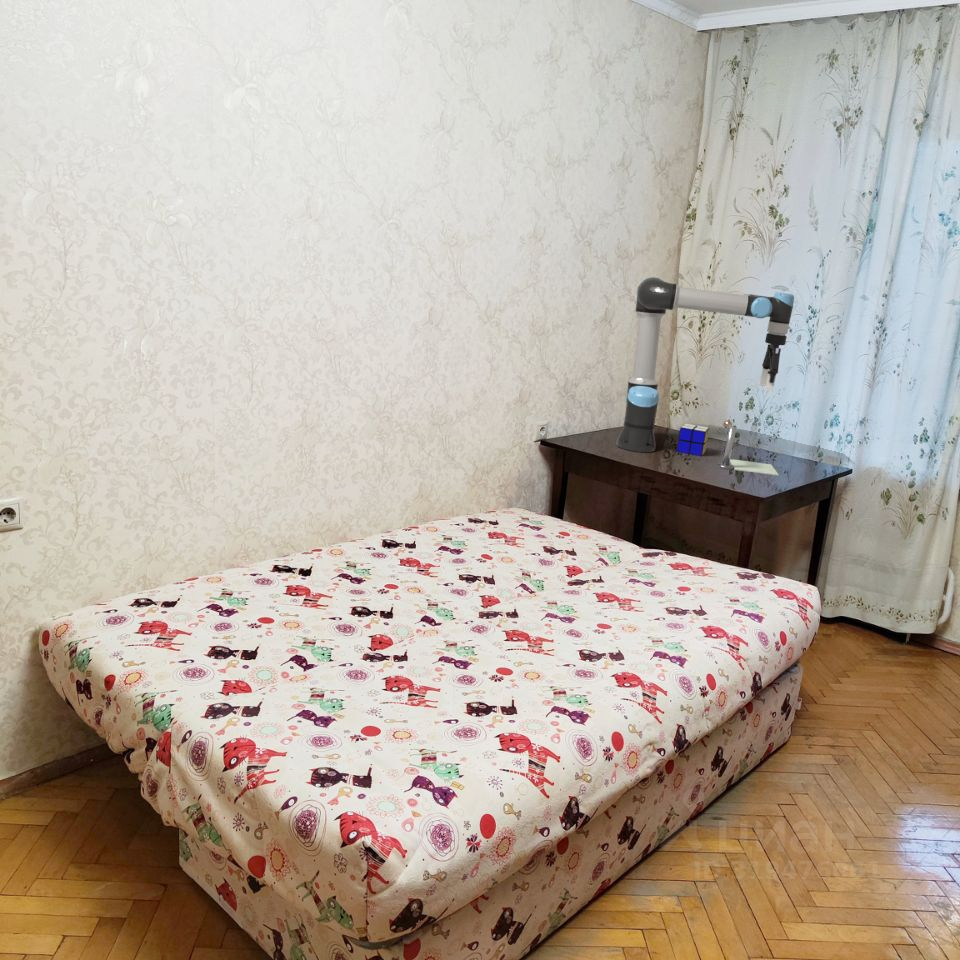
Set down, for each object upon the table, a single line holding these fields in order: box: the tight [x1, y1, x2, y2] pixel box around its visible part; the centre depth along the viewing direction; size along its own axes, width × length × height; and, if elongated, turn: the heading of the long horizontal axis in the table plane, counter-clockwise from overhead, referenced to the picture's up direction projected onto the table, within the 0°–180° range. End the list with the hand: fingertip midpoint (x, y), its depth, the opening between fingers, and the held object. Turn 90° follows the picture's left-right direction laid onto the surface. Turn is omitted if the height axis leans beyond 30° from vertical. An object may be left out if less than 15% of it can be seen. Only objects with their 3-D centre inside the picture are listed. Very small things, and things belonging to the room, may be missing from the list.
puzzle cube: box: [676, 423, 711, 457], centre depth 351 cm, size 10×10×10 cm
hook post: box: [716, 419, 737, 471], centre depth 335 cm, size 6×17×16 cm, turn 172°
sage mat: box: [729, 458, 779, 477], centre depth 336 cm, size 16×16×1 cm
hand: (765, 388), depth 349 cm, fingers open, 13 cm apart
